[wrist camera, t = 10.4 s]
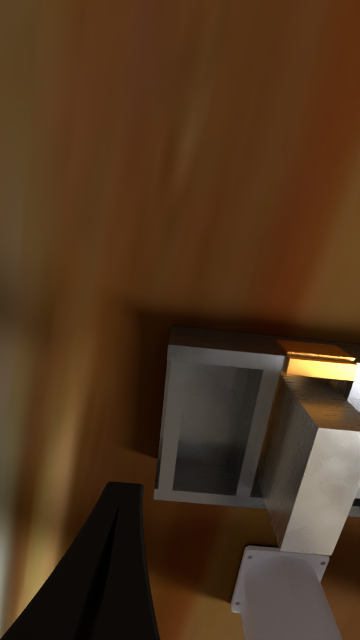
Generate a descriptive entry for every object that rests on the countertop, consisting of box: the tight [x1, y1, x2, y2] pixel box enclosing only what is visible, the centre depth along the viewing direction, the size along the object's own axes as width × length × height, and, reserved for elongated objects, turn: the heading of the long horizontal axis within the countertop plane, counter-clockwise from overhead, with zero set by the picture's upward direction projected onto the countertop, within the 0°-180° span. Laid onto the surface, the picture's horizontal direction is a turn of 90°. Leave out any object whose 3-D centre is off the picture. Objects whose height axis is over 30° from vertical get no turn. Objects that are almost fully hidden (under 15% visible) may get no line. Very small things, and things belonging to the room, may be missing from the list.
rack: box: [154, 325, 360, 517], centre depth 18 cm, size 12×18×4 cm
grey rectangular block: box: [256, 371, 360, 555], centre depth 16 cm, size 8×3×6 cm, turn 174°
